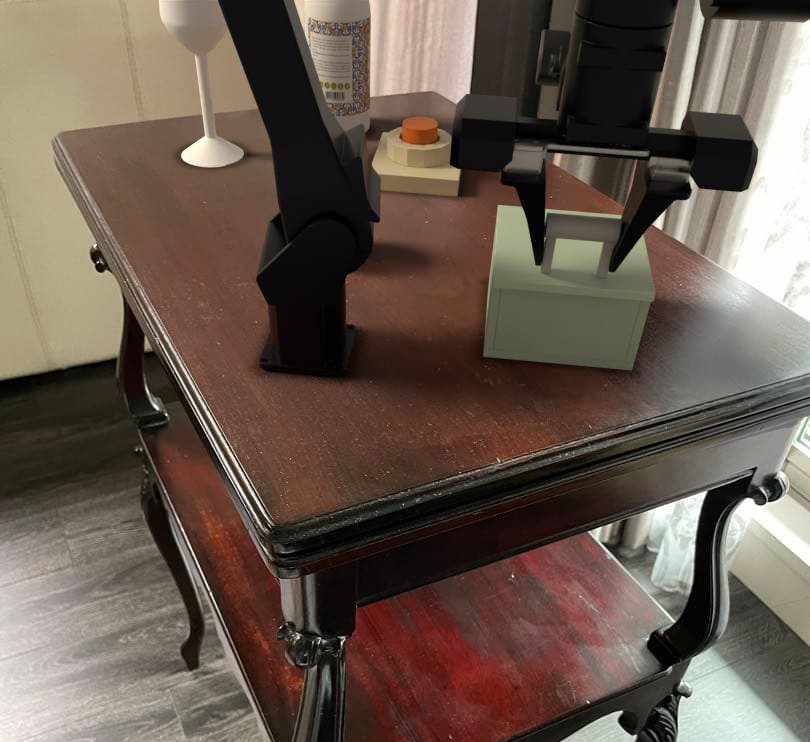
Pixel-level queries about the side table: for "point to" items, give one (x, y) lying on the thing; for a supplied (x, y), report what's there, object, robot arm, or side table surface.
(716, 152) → the robot arm
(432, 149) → the control block
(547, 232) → the compartment lid
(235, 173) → the side table surface
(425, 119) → the button
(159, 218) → the side table surface
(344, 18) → the bath foam
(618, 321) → the compartment
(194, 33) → the champagne flute
